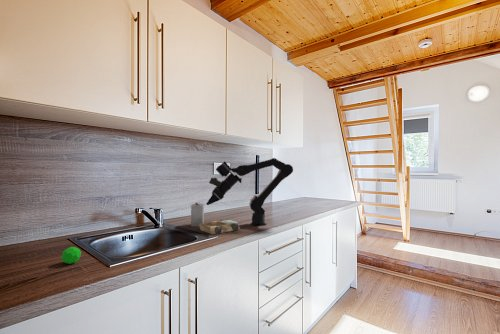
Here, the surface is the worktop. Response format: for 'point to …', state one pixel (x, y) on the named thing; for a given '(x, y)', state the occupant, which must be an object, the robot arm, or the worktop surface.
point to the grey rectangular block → (197, 214)
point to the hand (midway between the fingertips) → (207, 203)
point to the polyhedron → (71, 255)
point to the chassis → (219, 226)
